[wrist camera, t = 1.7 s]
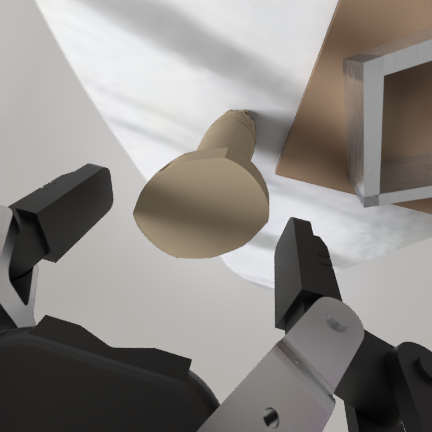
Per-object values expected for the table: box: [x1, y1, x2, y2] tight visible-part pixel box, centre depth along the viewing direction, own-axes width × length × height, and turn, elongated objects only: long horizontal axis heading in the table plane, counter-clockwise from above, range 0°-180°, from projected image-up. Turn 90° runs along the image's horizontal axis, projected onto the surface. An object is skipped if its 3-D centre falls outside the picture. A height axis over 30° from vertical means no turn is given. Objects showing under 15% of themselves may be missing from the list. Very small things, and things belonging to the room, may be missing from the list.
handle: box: [133, 109, 269, 259], centre depth 16 cm, size 5×6×15 cm
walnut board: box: [275, 0, 432, 214], centre depth 17 cm, size 20×16×1 cm
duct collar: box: [342, 27, 432, 207], centre depth 16 cm, size 10×9×5 cm
